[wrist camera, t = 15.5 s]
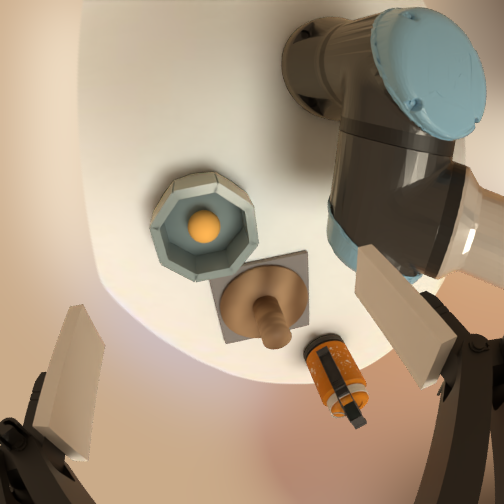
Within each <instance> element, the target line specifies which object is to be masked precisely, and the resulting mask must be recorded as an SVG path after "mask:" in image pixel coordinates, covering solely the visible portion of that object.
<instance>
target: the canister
mask: <svg viewBox="0 0 504 504" xmlns="http://www.w3.org/2000/svg"><path fill="white" fill-rule="evenodd" d="M304 359H305V361H306V363H307V366H308V369H309V371H310V373H311V376H312V378H313V381H314V383H315V385H316V387H317V390H318V392H319V394H320V397H321V399H322V402H323V404H324V405H325V406H327V407H328V408H329V411H330V413H331V416H332V417H335V418H343V417H345V416H347V418H348V419H349V421H350V422H351V423H352V425H353V426H354V427H355V429H357V428H360V427H361V426H363V425H365V424H367V421H366V419H365V418H363V416H362V414H361V411H360V409H362V408H363V407H364V406H365V405H366V403H367V402H368V399H369V393H368V391H367V389H366V381H365V379H364V378H363V376H362V374H361V372H360V370H359V368H358V367H357V365H356V363H355V361H354V359H353V358H352V356H351V354H350V352H349V350H348V349H347V347H346V345H345V343H344V342H343V340H342V338H340V337H339V336H336V335H327V336H323V337H321V338H319V339H317V340H315V341H313V342H312V343H311V344H310V345H309V346H308V347H307V348H306V350H305V352H304ZM333 415H334V416H333Z"/></svg>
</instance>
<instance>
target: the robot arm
mask: <svg viewBox="0 0 504 504" xmlns="http://www.w3.org/2000/svg"><path fill="white" fill-rule="evenodd" d="M282 73H283V78H284V81H285V84H286V86H287V88H288V90H289V92H290V94H291V95H292V97H293V98H294V99H295V100H296V101H297V103H298V104H299V105H301V106H302V107H303V108H304V109H306V110H307V111H309V112H310V113H312V114H314V115H316V116H319V117H322V118H326V119H329V120H335V121H340V128H339V135H338V144H337V152H336V161H335V169H334V175H333V182H332V188H331V195H330V196H329V200H328V212H329V213H328V223H327V238H328V242H329V244H330V245H331V247H332V249H333V251H334V253H335V254H336V256H337V257H338V258H339V259H340V260H341V261H342V262H343V263H344V264H345V265H346V266H348V267H349V268H350V269H352V270H353V271H355V272H356V283H355V294H356V296H357V297H358V298H359V300H360V301H361V303H362V304H363V305H364V307H365V308H366V310H367V311H368V312H369V314H370V315H371V317H372V318H373V319H374V321H375V322H376V324H377V325H378V327H379V328H380V329H381V331H382V332H383V334H384V335H385V337H386V338H387V340H388V341H389V342H390V344H391V345H392V347H393V348H394V350H395V351H396V353H397V354H398V356H399V357H400V359H401V360H402V362H403V363H404V365H405V366H406V368H407V369H408V370H409V372H410V374H411V375H412V376H413V378H414V380H415V381H416V383H417V384H418V386H419V388H420V389H421V390H422V389H424V388H426V387H429V386H431V385H433V384H435V383H436V382H437V380H438V378H439V375H440V374H441V375H442V377H443V378H444V382H443V383H442V385H441V387H440V389H439V391H438V393H437V395H438V396H439V395H440V393H441V398H440V403H439V409H438V415H437V420H436V425H435V430H434V434H433V439H432V443H431V447H430V451H429V455H428V459H427V463H426V467H425V470H424V474H423V477H422V480H421V484H420V487H419V490H418V493H417V496H416V499H415V502H414V504H478V500H479V496H480V492H481V486H482V482H483V476H484V471H485V465H486V459H487V452H488V444H489V435H490V431H491V438H492V449H493V460H494V474H495V504H504V336H503V338H500V339H494V340H487V339H486V338H485V337H484V336H482V335H479V334H470V333H469V332H468V331H467V330H466V328H465V327H464V326H463V325H462V324H461V323H460V322H459V321H458V319H456V317H455V316H454V315H453V314H452V313H451V312H449V310H448V309H447V307H446V306H444V305H443V303H442V302H441V301H440V300H439V299H438V298H437V297H436V296H434V295H433V294H431V293H429V292H427V291H425V292H422V293H419V292H418V291H417V290H416V289H415V288H414V287H413V286H412V285H411V284H413V283H415V282H416V281H417V280H418V279H419V278H420V277H422V275H423V274H424V275H427V276H429V277H432V278H435V279H437V280H438V279H440V278H443V277H445V276H447V275H448V274H450V273H452V272H457V271H459V272H462V273H464V274H467V275H469V276H472V277H474V278H477V279H479V280H482V281H484V282H487V283H489V284H492V285H494V286H497V287H499V288H501V289H503V290H504V196H501V195H499V194H497V193H494V192H492V191H489V190H486V189H484V188H482V187H481V186H479V184H478V182H477V180H476V178H475V177H474V175H473V173H472V171H471V170H470V168H469V167H467V166H465V165H462V164H459V163H456V162H454V161H452V157H453V151H454V146H455V140H456V139H460V138H464V137H465V136H468V135H469V134H470V133H472V132H473V130H474V129H475V123H478V122H480V120H481V118H482V116H483V113H484V109H485V104H486V80H485V75H484V71H483V67H482V63H481V61H480V58H479V56H478V54H477V51H476V50H475V49H474V48H473V46H472V44H471V42H470V40H469V38H468V37H467V35H466V34H465V33H464V32H463V30H462V29H461V28H460V27H459V26H458V25H457V24H456V23H454V22H453V21H452V20H451V19H449V18H448V17H446V16H445V15H443V14H441V13H439V12H437V11H434V10H431V9H428V8H421V7H413V8H396V9H395V8H391V9H388V10H385V11H384V12H381V13H377V14H374V15H370V16H367V17H363V18H360V19H356V20H353V21H352V20H348V19H345V18H340V17H324V18H319V19H316V20H313V21H311V22H308V23H306V24H304V25H303V26H301V27H300V28H298V29H297V30H296V31H295V32H294V33H293V34H292V35H291V37H290V38H289V39H288V41H287V43H286V45H285V48H284V51H283V55H282ZM104 349H105V344H104V342H103V341H102V339H101V337H100V335H99V333H98V332H97V330H96V328H95V326H94V324H93V322H92V321H91V319H90V317H89V315H88V313H87V311H86V309H85V307H84V305H83V304H82V305H76V306H71V307H69V310H68V313H67V315H66V318H65V320H64V323H63V326H62V329H61V331H60V334H59V337H58V340H57V342H56V345H55V348H54V351H53V354H52V357H51V360H50V363H49V367H48V370H47V372H42V373H41V374H40V375H39V377H38V378H37V380H36V381H35V384H34V387H33V390H32V392H33V393H32V394H31V397H30V402H29V405H28V408H27V412H26V416H25V420H24V424H23V426H22V425H21V424H20V423H19V422H18V421H17V420H16V419H14V418H6V419H4V420H2V421H1V422H0V444H1V446H0V504H96V503H95V502H94V500H93V499H92V498H91V496H90V495H89V494H88V492H87V491H86V490H85V488H84V487H83V486H82V485H81V483H80V481H79V480H78V479H77V477H76V476H75V474H74V473H73V471H72V470H71V468H70V467H69V465H68V464H67V463H66V462H65V461H64V460H65V455H66V456H68V457H69V458H70V459H72V460H73V461H88V460H89V450H90V441H91V432H92V423H93V415H94V408H95V401H96V394H97V388H98V381H99V376H100V370H101V365H102V360H103V354H104Z"/></svg>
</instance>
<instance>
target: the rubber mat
mask: <svg viewBox="0 0 504 504" xmlns="http://www.w3.org/2000/svg"><path fill="white" fill-rule="evenodd" d="M261 265H280V266H284V267H287V268H289V269H291V270H293V271H294V272H296V273H297V274H298V275H299V276H300V277H301V278H302V280H303V282H304V283H305V285H306V288H307V291H308V302H307V306H306V308H305V311H304V312H303V314H302V316H301V317H300V318H299V319H298V321H297V322H296V323H295V324H293V325H292V326H291V327H290V328H289V329H290V330H291V329H295V328H299V327H303V326H307V325H309V279H308V252H307V251H301V252H296V253H291V254H287V255H282V256H277V257H272V258H267V259H263V260H258V261H253V262H248V263H243V265H242V266H241V267H240V268H239V269H238V271H237V272H236V273H235V274H234V273H233V275H229V276H225V277H220V278H215V279H210V284H211V288H212V292H213V296H214V300H215V304H216V308H217V312H218V316H219V320H220V324H221V328H222V332H223V336H224V339H225V343H226V344H228V343H233V342H238V341H243V340H247V339H252V338H249V337H244V336H241V335H238V334H236V333H235V332H233V331H232V330H230V329H229V328H228V327H227V326H226V324H225V323H224V321H223V319H222V316H221V311H220V300H221V296H222V293H223V291H224V289H225V288H226V286H227V285H228V284H229V283H230V282H231V280H232V279H234V278H235V277H236V276H237V275H239V274H240V273H242V272H244V271H246V270H248V269H250V268H253V267H256V266H261Z"/></svg>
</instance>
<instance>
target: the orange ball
mask: <svg viewBox="0 0 504 504" xmlns="http://www.w3.org/2000/svg"><path fill="white" fill-rule="evenodd" d="M220 227H221V226H220V221H219V219H218V217H217V216H216V215H215V214H214V213H213V212H211V211H208V210H200V211H197V212H196V213H194V214H193V215H192V216H191V217H190V219H189V221H188V232H189V234H190V236H191V237H192V238H193V239H194V240H195V241H197V242H200V243H208V242H211V241H213V240H214V239H215V238H216V237H217V236H218V234H219V232H220Z"/></svg>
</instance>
